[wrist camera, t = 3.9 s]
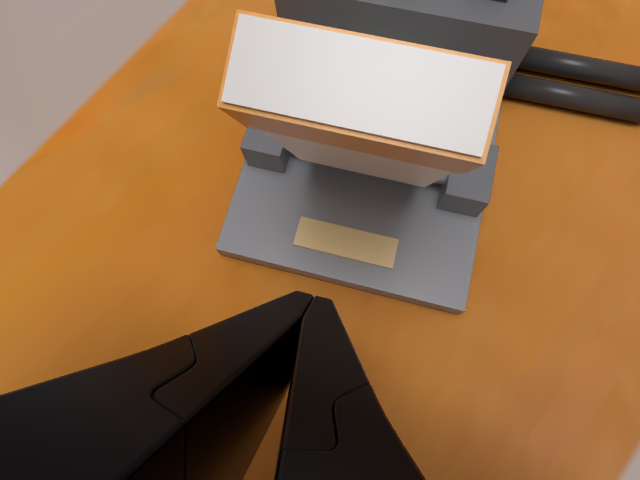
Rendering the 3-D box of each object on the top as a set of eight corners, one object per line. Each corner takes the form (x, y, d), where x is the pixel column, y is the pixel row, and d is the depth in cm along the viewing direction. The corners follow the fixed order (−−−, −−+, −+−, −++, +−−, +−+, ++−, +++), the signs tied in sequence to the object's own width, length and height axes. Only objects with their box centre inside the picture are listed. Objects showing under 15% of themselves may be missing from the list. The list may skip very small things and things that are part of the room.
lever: (426, 190, 17) (486, 163, 8) (297, 161, 17) (215, 105, 8) (438, 143, 17) (513, 59, 8) (307, 115, 17) (235, 6, 8)
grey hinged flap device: (635, 359, 17) (764, 354, 12) (221, 254, 19) (178, 211, 14) (655, 75, 21) (762, -24, 15) (302, 9, 22) (292, -101, 17)
